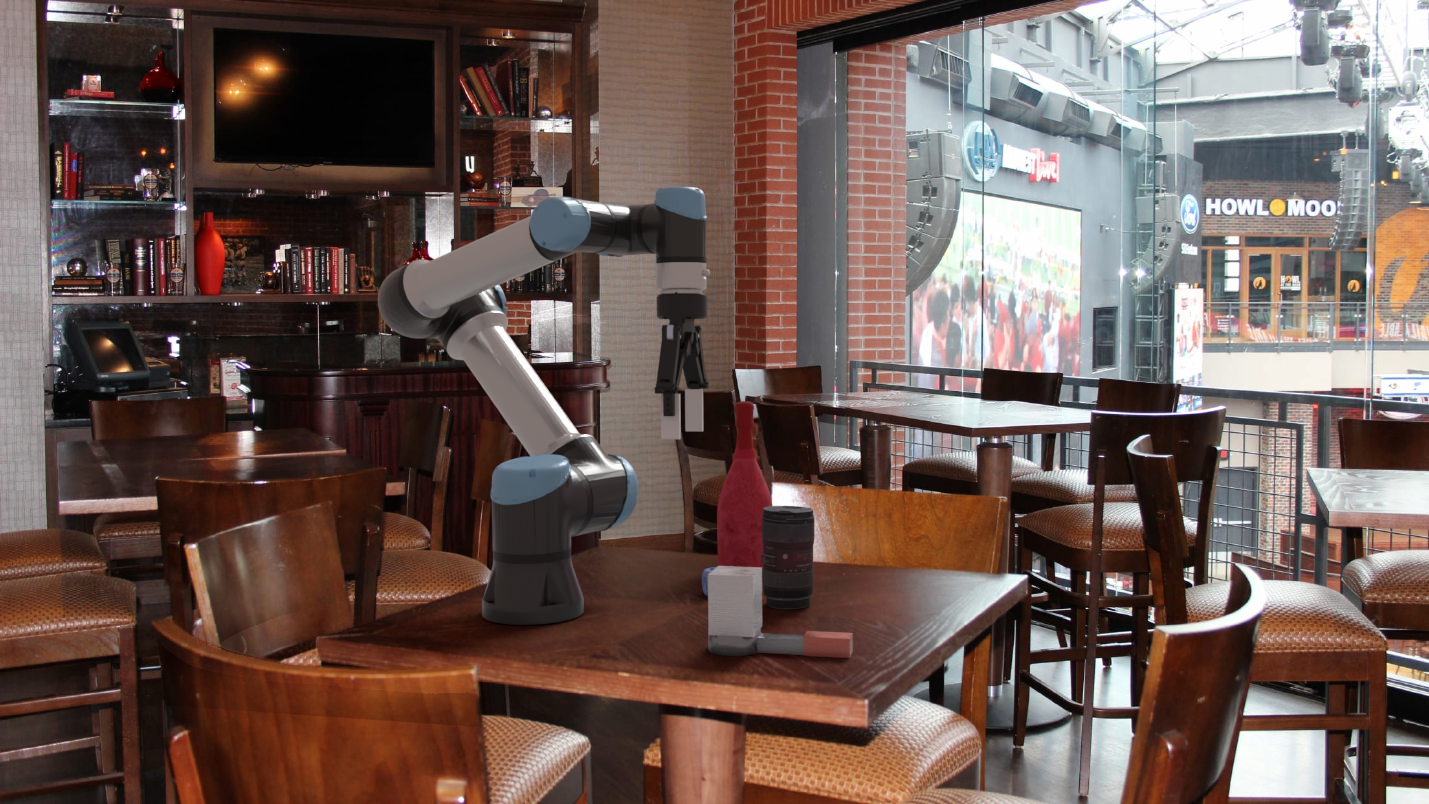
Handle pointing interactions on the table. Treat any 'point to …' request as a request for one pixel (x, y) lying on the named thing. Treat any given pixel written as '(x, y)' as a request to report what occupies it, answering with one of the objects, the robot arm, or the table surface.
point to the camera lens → (787, 556)
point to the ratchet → (785, 644)
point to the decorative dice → (706, 579)
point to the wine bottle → (742, 500)
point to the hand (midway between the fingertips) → (683, 435)
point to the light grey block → (735, 601)
